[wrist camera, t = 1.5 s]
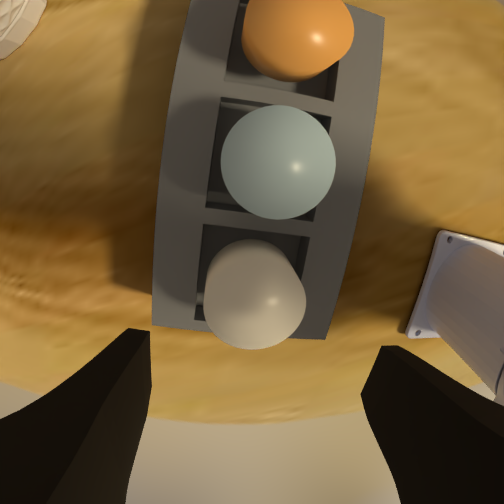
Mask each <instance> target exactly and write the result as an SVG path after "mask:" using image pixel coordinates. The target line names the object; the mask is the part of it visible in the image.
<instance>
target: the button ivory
mask: <svg viewBox="0 0 504 504" xmlns="http://www.w3.org/2000/svg"><path fill="white" fill-rule="evenodd" d="M305 309H306V295H305V291H304V288H303V286H302V283H301V281H300V280H299V278H298V276H297V274H296V273H295V271H294V269H293V267H292V265H291V264H290V262H289V260H288V258H287V257H286V255H285V254H284V253H283V252H282V251H281V250H280V249H279V248H278V247H276V246H275V245H273V244H271V243H269V242H266V241H263V240H258V239H243V240H239V241H236V242H233V243H231V244H229V245H227V246H225V247H224V248H222V249H221V250H220V251H219V252H218V253H217V254H216V255H215V256H214V258H213V259H212V261H211V263H210V265H209V268H208V271H207V276H206V285H205V293H204V302H203V310H204V316H205V319H206V322H207V324H208V326H209V328H210V329H211V331H212V332H213V333H214V334H215V335H216V336H217V337H218V338H219V339H221V340H222V341H223V342H225V343H227V344H229V345H231V346H234V347H237V348H241V349H253V350H254V349H263V348H267V347H271V346H273V345H276V344H278V343H280V342H282V341H283V340H285V339H286V338H288V337H289V336H290V335H291V334H292V333H293V332H294V331H295V330H296V329H297V327H298V326H299V324H300V323H301V321H302V319H303V316H304V313H305Z"/></svg>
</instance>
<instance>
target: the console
mask: <svg viewBox="0 0 504 504" xmlns="http://www.w3.org/2000/svg"><path fill="white" fill-rule="evenodd" d="M248 2H249V0H191V2H190V6H189V10H188V14H187V18H186V22H185V26H184V31H183V35H182V39H181V44H180V49H179V53H178V58H177V63H176V68H175V73H174V79H173V84H172V90H171V96H170V102H169V108H168V114H167V121H166V128H165V135H164V142H163V150H162V158H161V167H160V176H159V186H158V196H157V208H156V221H155V236H154V254H153V281H152V325H156V326H163V327H171V328H179V329H187V330H196V331H205V332H212V331H211V329H210V328H209V326H208V324H207V322H206V319H205V316H204V310H203V302H204V293H205V285H206V276H207V271H208V268H209V265H210V263H211V261H212V259H213V258H214V256H215V255H216V254H217V253H218V252H219V251H220V250H221V249H222V248H224V247H225V246H227V245H229V244H231V243H233V242H236V241H239V240H243V239H258V240H263V241H266V242H269V243H271V244H273V245H275V246H276V247H278V248H279V249H280V250H281V251H282V252H283V253H284V254H285V255H286V257H287V258H288V260H289V262H290V264H291V265H292V267H293V269H294V271H295V273H296V274H297V276H298V278H299V280H300V281H301V283H302V286H303V288H304V291H305V295H306V309H305V313H304V316H303V319H302V321H301V323H300V324H299V326H298V327H297V329H296V330H295V331H294V332H293V333H292V334H291V335H290V336H289V337H288V338H297V339H322V340H325V339H326V336H327V333H328V329H329V326H330V323H331V319H332V316H333V313H334V309H335V306H336V302H337V298H338V295H339V291H340V288H341V284H342V280H343V276H344V273H345V269H346V265H347V261H348V257H349V253H350V249H351V244H352V240H353V236H354V231H355V227H356V223H357V218H358V213H359V209H360V204H361V199H362V194H363V189H364V184H365V178H366V173H367V167H368V162H369V156H370V150H371V144H372V137H373V131H374V124H375V117H376V109H377V101H378V93H379V84H380V75H381V64H382V53H383V39H384V21H385V18H384V17H382V16H379V15H377V14H374V13H371V12H369V11H366V10H363V9H360V8H358V7H355V6H352V5H349V4H346V3H344V4H345V6H346V7H347V9H348V10H349V12H350V15H351V17H352V20H353V24H354V37H353V41H352V44H351V46H350V48H349V50H348V51H347V53H346V54H345V55H344V56H343V57H342V58H341V59H339V60H338V61H336V62H335V63H334V64H332V65H331V66H329V67H328V68H326V69H325V70H324V71H322V72H321V73H319V74H318V75H317V76H315V77H313V78H311V79H309V80H306V81H301V82H282V81H278V80H274V79H272V78H269V77H267V76H265V75H264V74H262V73H261V72H259V71H258V70H257V69H255V68H254V67H253V66H252V64H251V63H250V62H249V61H248V59H247V58H246V56H245V54H244V51H243V48H242V42H241V37H242V30H243V24H244V18H245V13H246V8H247V5H248ZM272 105H284V106H290V107H294V108H297V109H300V110H302V111H304V112H306V113H308V114H309V115H311V116H312V117H314V118H315V119H316V120H317V121H318V122H319V123H320V124H321V125H322V126H323V127H324V129H325V130H326V132H327V133H328V135H329V137H330V139H331V141H332V144H333V147H334V151H335V157H336V167H335V174H334V178H333V181H332V184H331V187H330V188H329V190H328V192H327V194H326V195H325V196H324V198H323V199H322V200H321V201H320V202H319V203H318V204H317V205H316V206H315V207H314V208H313V209H311V210H309V211H308V212H306V213H304V214H302V215H300V216H297V217H294V218H289V219H281V220H276V219H268V218H263V217H260V216H257V215H255V214H253V213H251V212H249V211H247V210H246V209H244V208H243V207H242V206H241V205H240V204H238V203H237V202H236V200H235V199H234V198H233V197H232V195H231V194H230V193H229V191H228V189H227V187H226V185H225V183H224V180H223V176H222V171H221V153H222V148H223V145H224V142H225V139H226V137H227V135H228V133H229V132H230V130H231V129H232V127H233V126H234V125H235V124H236V123H237V122H238V121H239V120H240V119H241V118H242V117H244V116H245V115H247V114H248V113H250V112H252V111H254V110H256V109H258V108H262V107H265V106H272Z"/></svg>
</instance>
